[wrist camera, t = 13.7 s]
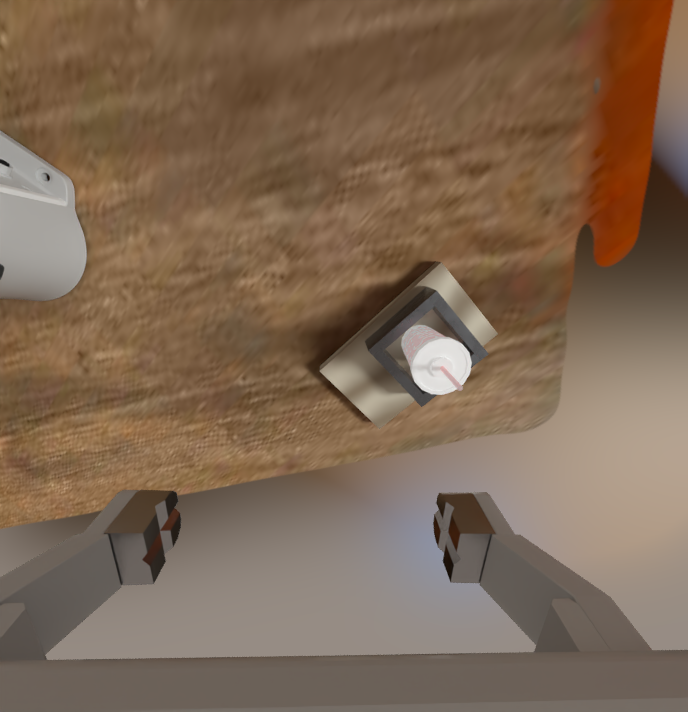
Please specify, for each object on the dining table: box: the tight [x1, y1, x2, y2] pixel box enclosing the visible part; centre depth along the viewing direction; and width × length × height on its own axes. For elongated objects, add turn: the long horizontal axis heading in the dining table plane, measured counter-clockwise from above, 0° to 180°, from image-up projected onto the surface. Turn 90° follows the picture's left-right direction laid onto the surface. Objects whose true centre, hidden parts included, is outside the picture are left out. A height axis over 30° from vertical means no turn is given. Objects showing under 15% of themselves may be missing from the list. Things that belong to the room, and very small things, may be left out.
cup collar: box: [365, 286, 488, 407], centre depth 39 cm, size 10×10×4 cm
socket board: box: [320, 262, 498, 429], centre depth 43 cm, size 12×20×2 cm, turn 133°
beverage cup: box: [401, 325, 472, 395], centre depth 35 cm, size 6×6×14 cm
